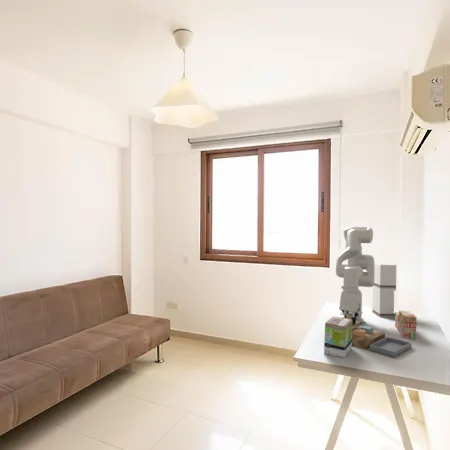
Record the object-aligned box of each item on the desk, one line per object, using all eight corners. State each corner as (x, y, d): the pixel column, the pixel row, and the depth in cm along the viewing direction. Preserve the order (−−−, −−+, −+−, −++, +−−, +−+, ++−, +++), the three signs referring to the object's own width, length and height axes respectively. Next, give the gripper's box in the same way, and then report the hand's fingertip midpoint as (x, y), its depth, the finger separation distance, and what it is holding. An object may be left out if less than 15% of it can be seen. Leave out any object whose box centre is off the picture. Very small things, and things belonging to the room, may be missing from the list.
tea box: (345, 358, 153) (346, 326, 153) (323, 353, 158) (323, 322, 158) (352, 348, 166) (352, 318, 166) (331, 344, 171) (332, 315, 171)
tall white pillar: (395, 317, 225) (396, 265, 225) (379, 316, 225) (380, 264, 225) (387, 312, 236) (388, 263, 236) (372, 312, 236) (373, 262, 236)
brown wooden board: (337, 340, 176) (337, 333, 176) (356, 333, 190) (356, 326, 190) (367, 349, 164) (367, 341, 164) (385, 340, 178) (385, 333, 178)
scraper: (339, 330, 178) (340, 315, 178) (354, 325, 188) (355, 310, 188) (344, 331, 176) (345, 316, 176) (359, 326, 186) (360, 312, 186)
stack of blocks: (394, 326, 203) (395, 306, 203) (406, 327, 202) (406, 307, 202) (403, 338, 183) (403, 315, 183) (416, 339, 181) (416, 316, 181)
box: (369, 350, 164) (369, 345, 164) (387, 341, 177) (387, 336, 177) (394, 357, 155) (394, 352, 155) (411, 347, 168) (411, 342, 168)
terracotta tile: (353, 334, 174) (353, 330, 174) (357, 333, 177) (357, 328, 177) (361, 337, 170) (361, 332, 170) (365, 335, 173) (366, 330, 173)
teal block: (360, 331, 179) (360, 327, 179) (364, 330, 182) (365, 325, 182) (369, 334, 176) (369, 329, 176) (373, 332, 179) (373, 327, 179)
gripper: (333, 288, 186) (332, 321, 186) (361, 293, 173) (361, 328, 173) (340, 286, 191) (340, 318, 191) (368, 291, 178) (368, 325, 178)
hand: (350, 323), depth 182 cm, fingers closed on scraper, 3 cm apart
